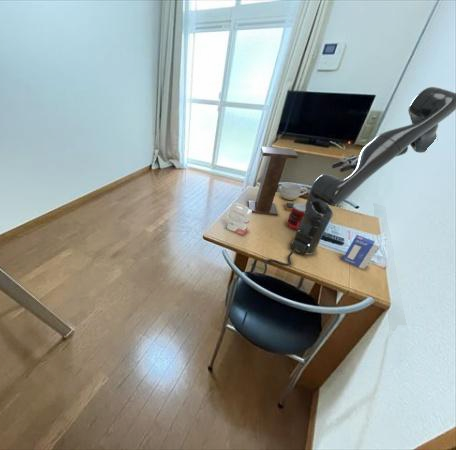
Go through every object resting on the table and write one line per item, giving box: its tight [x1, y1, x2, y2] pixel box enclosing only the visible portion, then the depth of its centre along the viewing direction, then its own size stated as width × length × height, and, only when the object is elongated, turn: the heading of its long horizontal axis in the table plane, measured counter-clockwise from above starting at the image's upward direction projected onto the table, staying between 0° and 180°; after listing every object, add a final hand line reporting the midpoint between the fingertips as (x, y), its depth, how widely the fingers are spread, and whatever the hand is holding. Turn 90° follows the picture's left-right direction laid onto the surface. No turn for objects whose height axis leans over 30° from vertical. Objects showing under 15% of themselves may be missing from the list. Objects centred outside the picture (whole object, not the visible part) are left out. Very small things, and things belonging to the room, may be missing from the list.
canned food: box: [286, 202, 306, 231], centre depth 119 cm, size 8×8×11 cm
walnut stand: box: [247, 146, 299, 217], centre depth 127 cm, size 15×12×32 cm
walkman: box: [341, 234, 382, 270], centre depth 97 cm, size 8×3×12 cm, turn 45°
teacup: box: [279, 181, 308, 201], centre depth 144 cm, size 14×11×8 cm
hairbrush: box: [284, 202, 295, 211], centre depth 134 cm, size 22×5×2 cm, turn 76°
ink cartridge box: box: [226, 201, 252, 236], centre depth 115 cm, size 9×5×15 cm, turn 47°
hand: (336, 168), depth 118 cm, fingers open, 8 cm apart
